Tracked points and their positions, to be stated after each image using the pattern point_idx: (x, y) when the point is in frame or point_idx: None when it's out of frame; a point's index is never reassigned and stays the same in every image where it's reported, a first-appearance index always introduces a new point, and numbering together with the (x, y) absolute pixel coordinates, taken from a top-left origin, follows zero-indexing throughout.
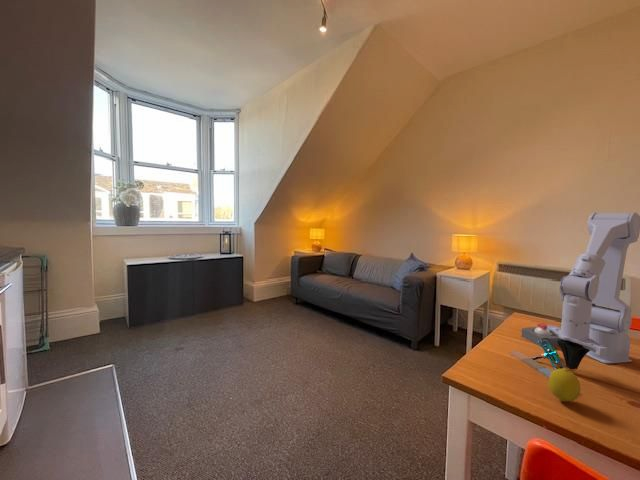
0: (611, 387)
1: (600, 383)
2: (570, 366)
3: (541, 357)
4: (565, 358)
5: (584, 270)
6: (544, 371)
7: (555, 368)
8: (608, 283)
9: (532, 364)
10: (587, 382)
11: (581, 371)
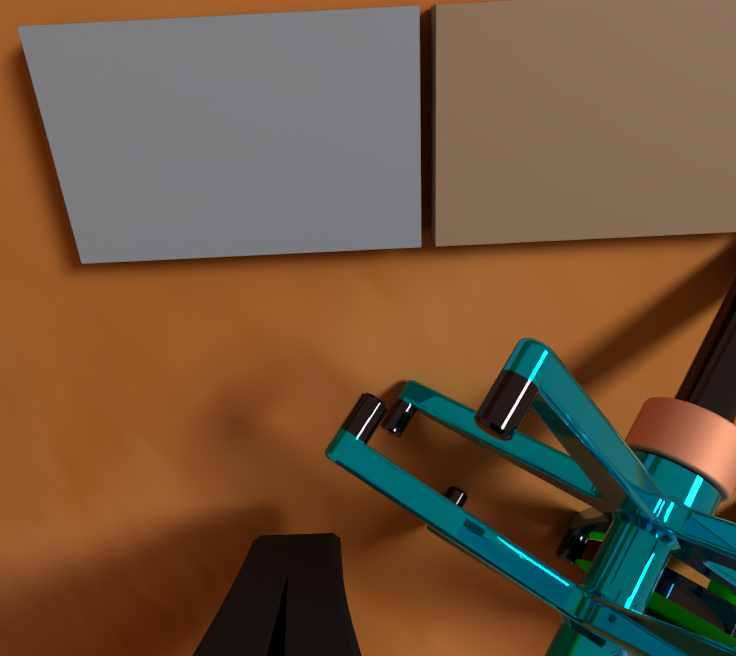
0: (3, 652)
1: (75, 620)
2: (247, 568)
3: (686, 386)
4: (319, 653)
5: None
6: (288, 72)
7: (409, 392)
8: None
9: (586, 45)
10: (75, 514)
11: None
